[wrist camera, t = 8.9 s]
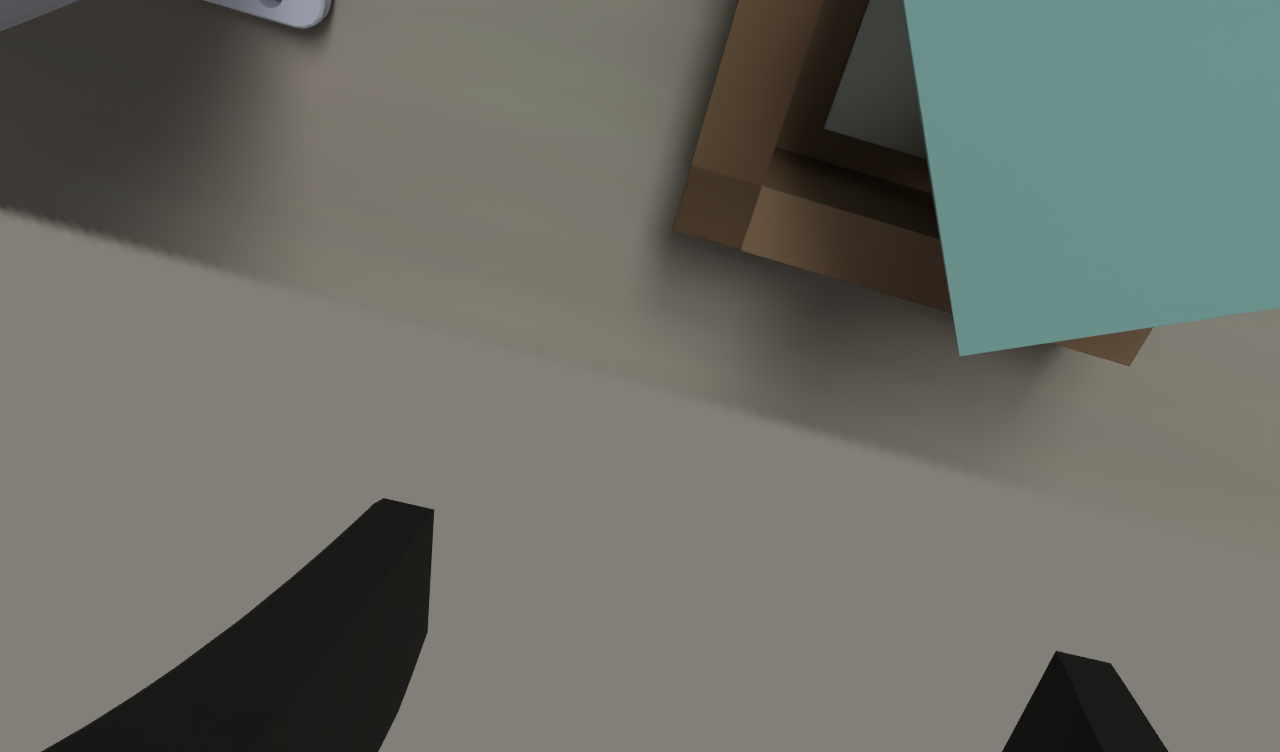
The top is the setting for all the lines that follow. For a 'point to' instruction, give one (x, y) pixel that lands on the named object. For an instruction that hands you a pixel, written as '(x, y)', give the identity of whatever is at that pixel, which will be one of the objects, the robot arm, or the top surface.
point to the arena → (828, 154)
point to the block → (1100, 162)
